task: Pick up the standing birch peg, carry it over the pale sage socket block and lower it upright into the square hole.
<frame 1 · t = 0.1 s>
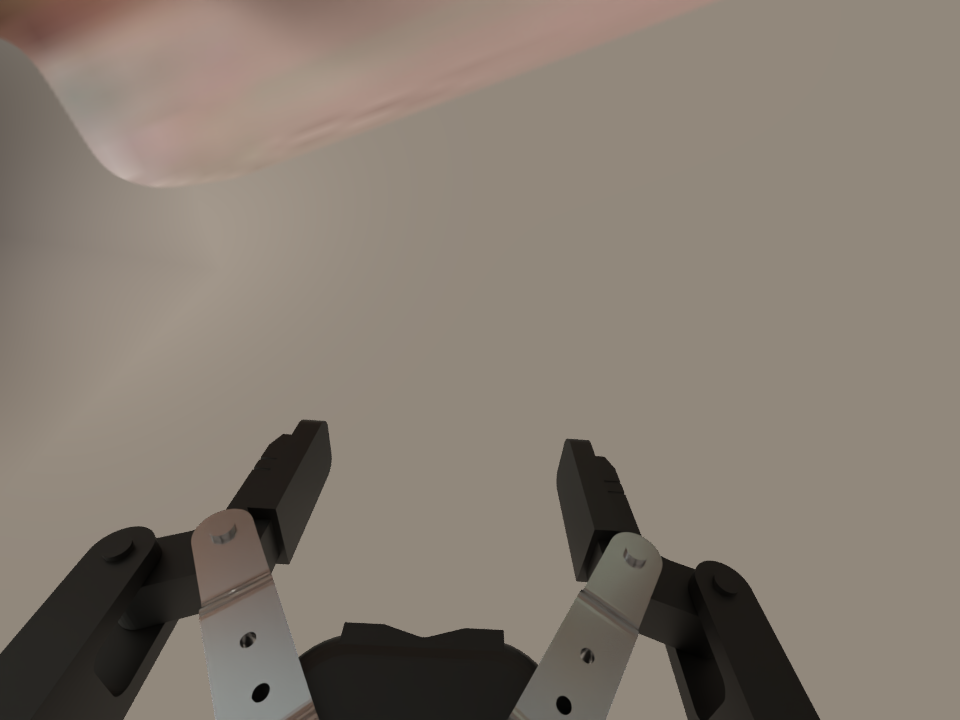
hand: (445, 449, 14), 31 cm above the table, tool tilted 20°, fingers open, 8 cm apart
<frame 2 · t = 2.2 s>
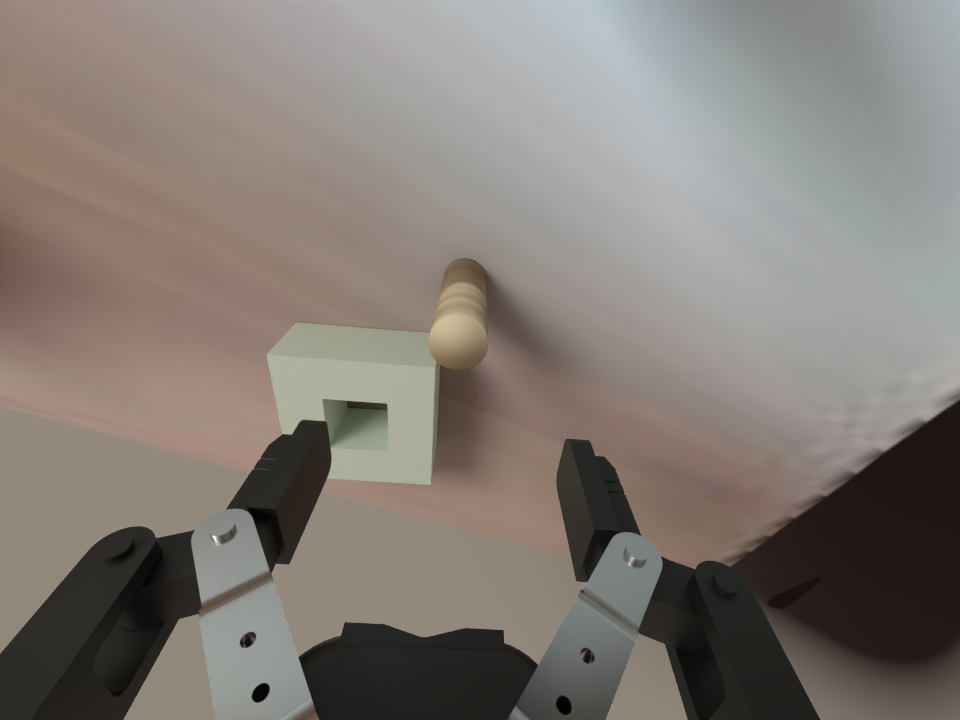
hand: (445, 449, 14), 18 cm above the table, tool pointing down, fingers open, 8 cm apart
hole block: (373, 387, 34), on the table
peg: (465, 279, 29), on the table
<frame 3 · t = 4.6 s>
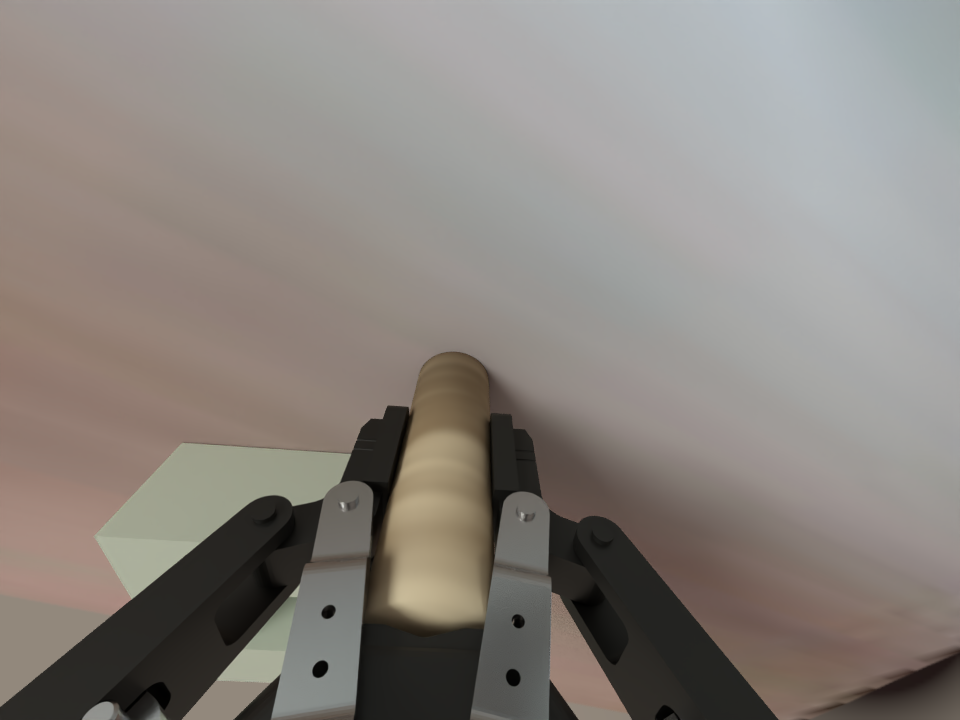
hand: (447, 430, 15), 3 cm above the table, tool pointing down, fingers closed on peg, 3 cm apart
hole block: (314, 526, 22), on the table
peg: (453, 382, 17), on the table, touching gripper
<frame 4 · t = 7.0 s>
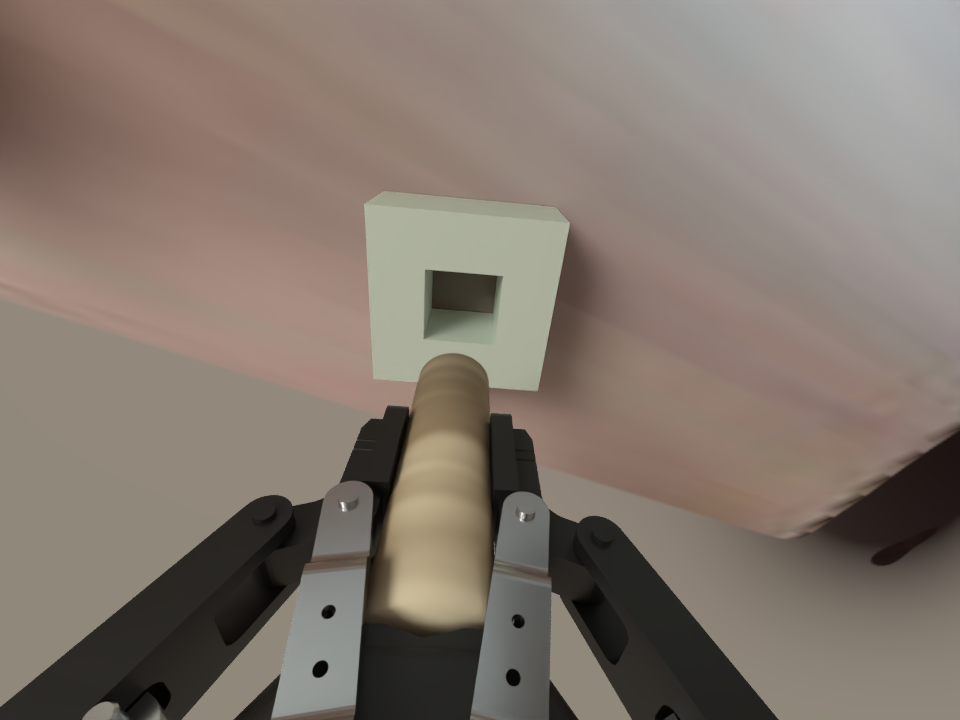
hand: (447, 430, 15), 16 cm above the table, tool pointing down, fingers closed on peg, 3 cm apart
hole block: (464, 281, 29), on the table
peg: (453, 383, 17), point 13 cm above the table, touching gripper
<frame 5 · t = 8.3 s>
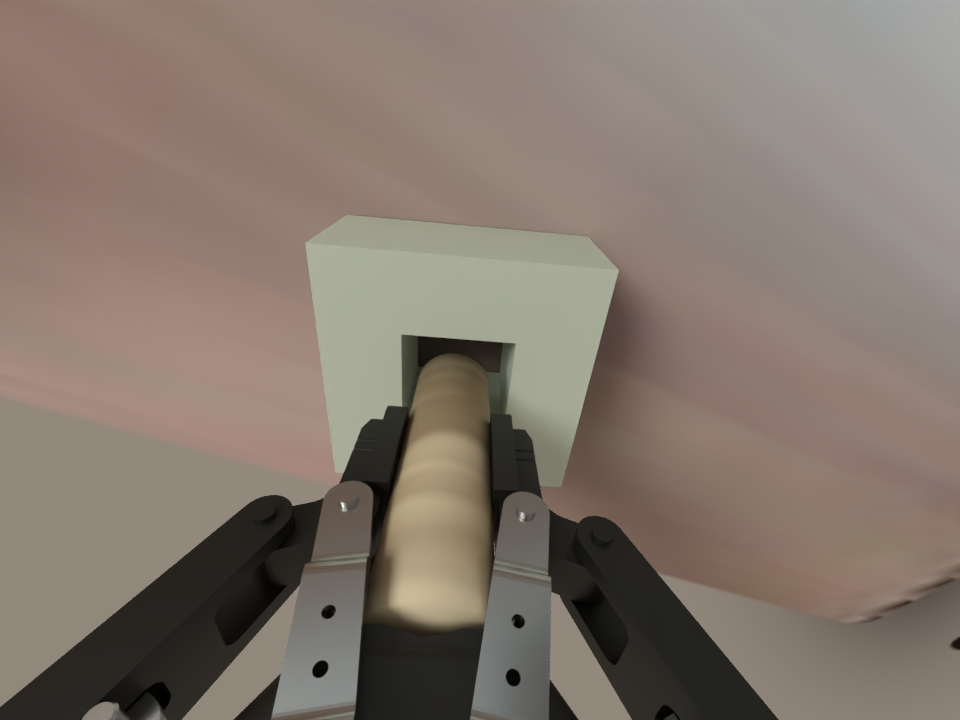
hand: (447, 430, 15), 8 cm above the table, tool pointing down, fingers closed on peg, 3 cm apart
hole block: (461, 333, 21), on the table
peg: (453, 383, 17), point 5 cm above the table, touching gripper
when the fingers open (6 cm above the table, at t = 9.5 s): peg drops 2 cm, resting in hole block.
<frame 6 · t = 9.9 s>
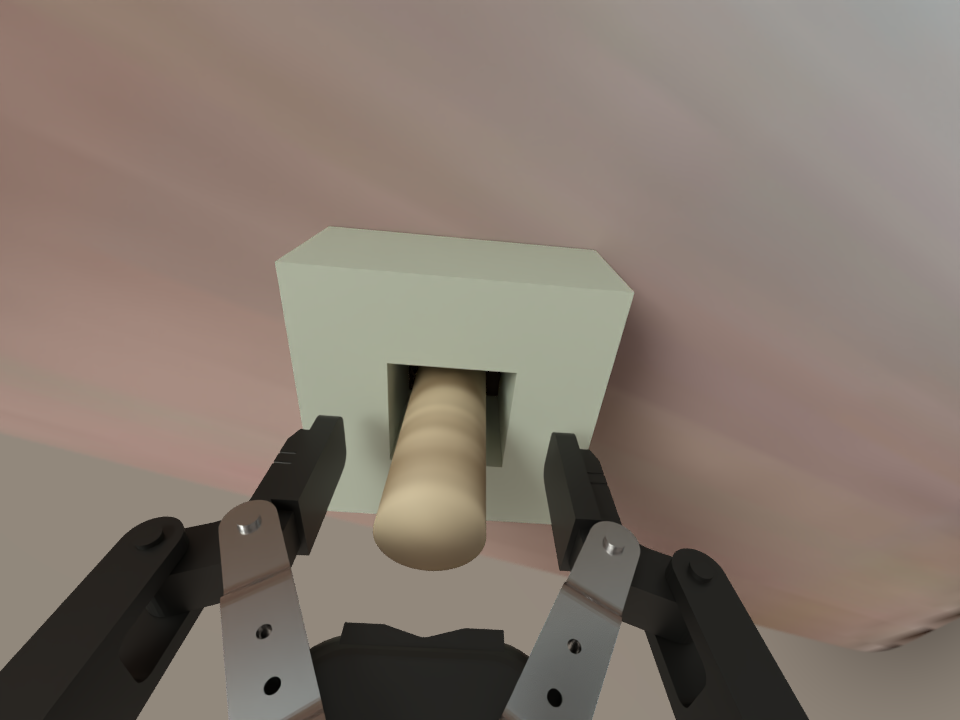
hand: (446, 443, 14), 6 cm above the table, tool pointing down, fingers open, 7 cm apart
hole block: (456, 354, 19), on the table
peg: (454, 354, 19), resting in hole block
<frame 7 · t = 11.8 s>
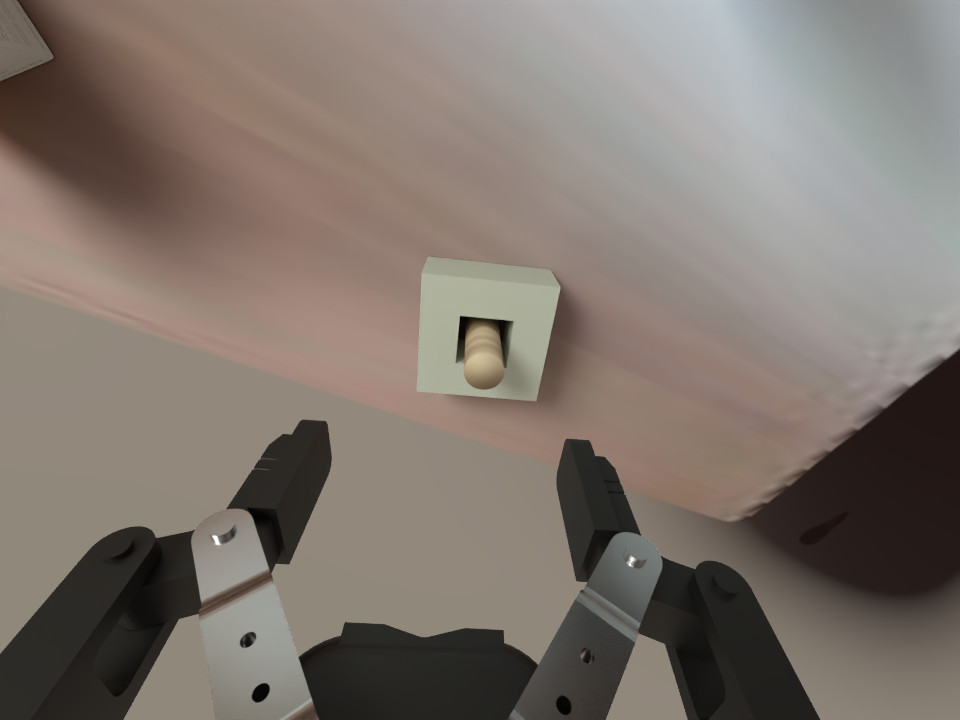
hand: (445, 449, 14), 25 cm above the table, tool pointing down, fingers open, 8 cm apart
hole block: (482, 319, 39), on the table
peg: (482, 319, 39), resting in hole block
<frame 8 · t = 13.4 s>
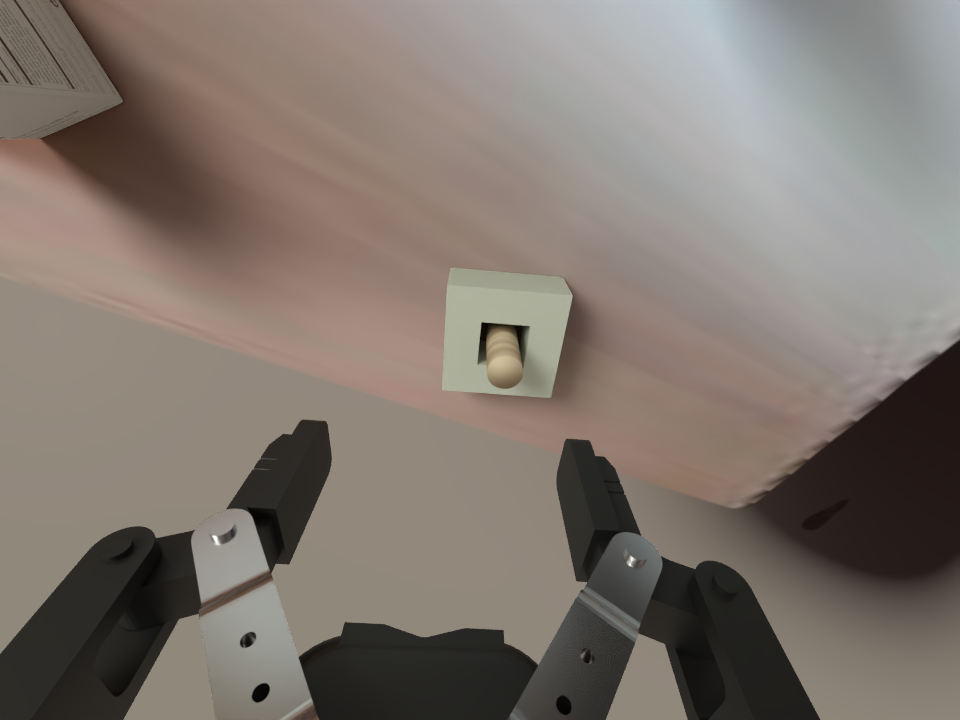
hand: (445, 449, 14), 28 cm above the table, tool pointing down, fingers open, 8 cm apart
hole block: (500, 323, 42), on the table
supplement box: (41, 60, 31), on the table
peg: (500, 323, 42), resting in hole block
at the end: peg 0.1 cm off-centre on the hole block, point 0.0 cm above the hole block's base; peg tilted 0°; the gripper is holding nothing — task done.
